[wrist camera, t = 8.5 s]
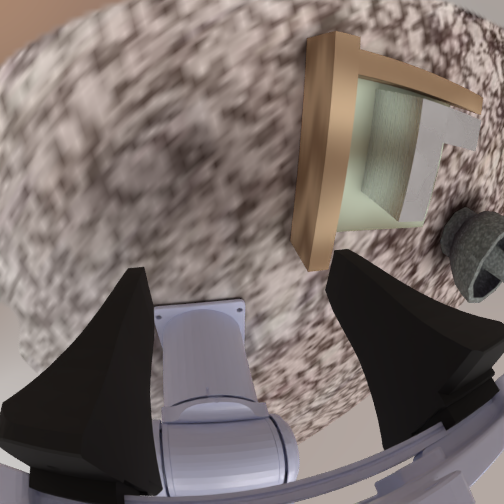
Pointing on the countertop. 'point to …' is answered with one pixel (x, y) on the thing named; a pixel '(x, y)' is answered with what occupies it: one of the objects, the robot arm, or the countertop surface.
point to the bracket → (410, 151)
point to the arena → (349, 139)
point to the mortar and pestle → (475, 252)
